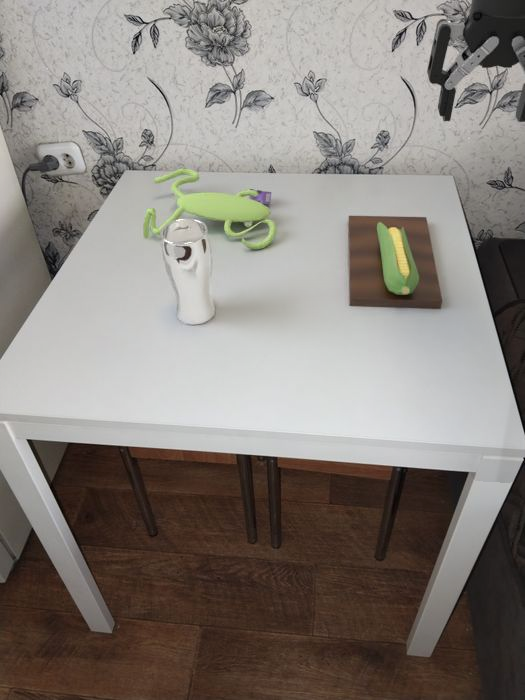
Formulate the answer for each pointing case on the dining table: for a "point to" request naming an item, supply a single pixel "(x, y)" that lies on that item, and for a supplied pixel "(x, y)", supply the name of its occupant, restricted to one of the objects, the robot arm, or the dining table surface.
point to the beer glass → (189, 268)
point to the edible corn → (397, 260)
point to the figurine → (217, 208)
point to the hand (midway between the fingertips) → (482, 119)
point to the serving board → (369, 269)
